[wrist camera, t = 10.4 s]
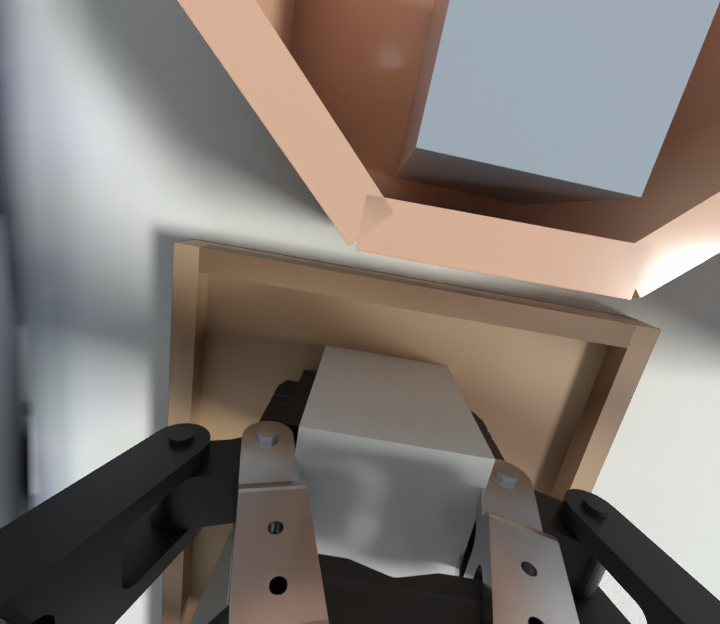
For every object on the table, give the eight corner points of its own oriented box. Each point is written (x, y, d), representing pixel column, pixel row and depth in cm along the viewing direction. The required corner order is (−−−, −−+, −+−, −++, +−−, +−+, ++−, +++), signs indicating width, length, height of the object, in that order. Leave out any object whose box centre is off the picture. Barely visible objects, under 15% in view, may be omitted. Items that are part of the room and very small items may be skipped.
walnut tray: (473, 709, 18) (481, 748, 17) (175, 663, 18) (159, 699, 17) (629, 317, 13) (661, 329, 11) (195, 239, 12) (173, 242, 11)
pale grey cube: (422, 459, 14) (451, 592, 9) (310, 440, 14) (278, 564, 9) (447, 365, 13) (495, 459, 8) (326, 344, 13) (298, 426, 8)
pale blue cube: (521, 204, 11) (640, 197, 6) (395, 177, 11) (415, 146, 6) (572, 42, 10) (771, -127, 5) (432, 8, 10) (494, -197, 5)
